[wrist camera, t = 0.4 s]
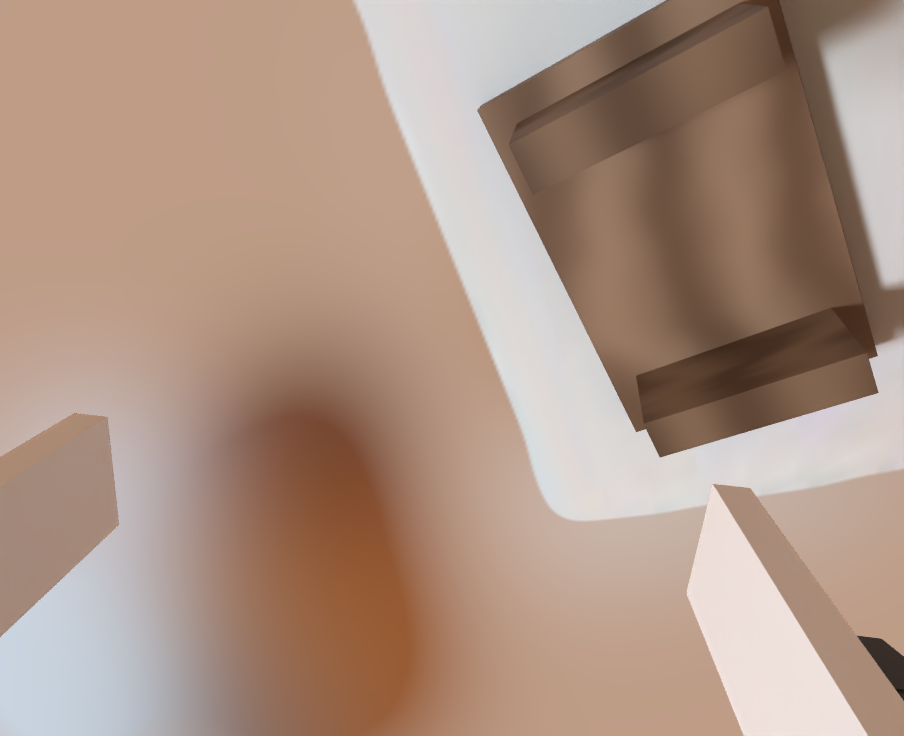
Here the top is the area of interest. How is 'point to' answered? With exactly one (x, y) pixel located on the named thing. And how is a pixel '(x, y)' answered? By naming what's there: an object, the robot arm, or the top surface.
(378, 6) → the top surface
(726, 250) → the cradle
